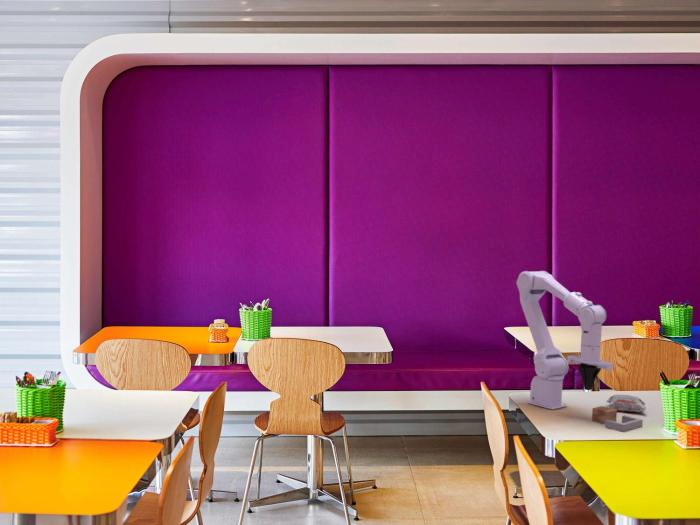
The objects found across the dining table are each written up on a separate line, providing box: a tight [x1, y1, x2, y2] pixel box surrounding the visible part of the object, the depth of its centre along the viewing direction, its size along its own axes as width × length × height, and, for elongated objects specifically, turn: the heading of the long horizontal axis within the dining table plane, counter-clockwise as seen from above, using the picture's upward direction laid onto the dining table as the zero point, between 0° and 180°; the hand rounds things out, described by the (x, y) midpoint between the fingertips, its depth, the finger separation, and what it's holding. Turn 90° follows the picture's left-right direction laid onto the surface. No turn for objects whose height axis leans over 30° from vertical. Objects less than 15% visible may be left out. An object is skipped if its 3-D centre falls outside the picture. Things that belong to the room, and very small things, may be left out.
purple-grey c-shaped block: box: [604, 414, 644, 433], centre depth 224 cm, size 6×10×2 cm, turn 130°
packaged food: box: [605, 394, 647, 413], centre depth 243 cm, size 9×12×5 cm
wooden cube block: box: [591, 405, 618, 425], centre depth 229 cm, size 5×5×4 cm
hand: (588, 389), depth 233 cm, fingers closed
